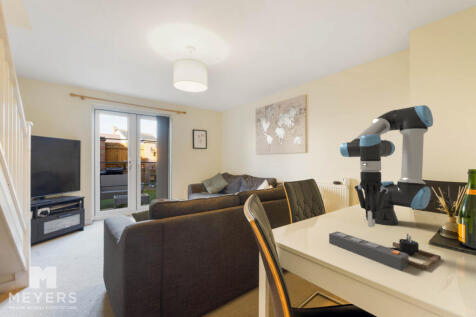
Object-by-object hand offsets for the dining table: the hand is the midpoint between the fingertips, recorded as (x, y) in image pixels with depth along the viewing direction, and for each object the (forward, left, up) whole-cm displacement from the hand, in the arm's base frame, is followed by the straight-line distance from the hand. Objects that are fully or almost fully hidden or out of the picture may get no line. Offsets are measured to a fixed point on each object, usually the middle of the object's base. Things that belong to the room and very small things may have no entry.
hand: (371, 226), depth 88 cm
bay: (+1, +13, -8) cm, 15 cm away
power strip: (+12, +3, -8) cm, 14 cm away
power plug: (+4, +5, -4) cm, 7 cm away
